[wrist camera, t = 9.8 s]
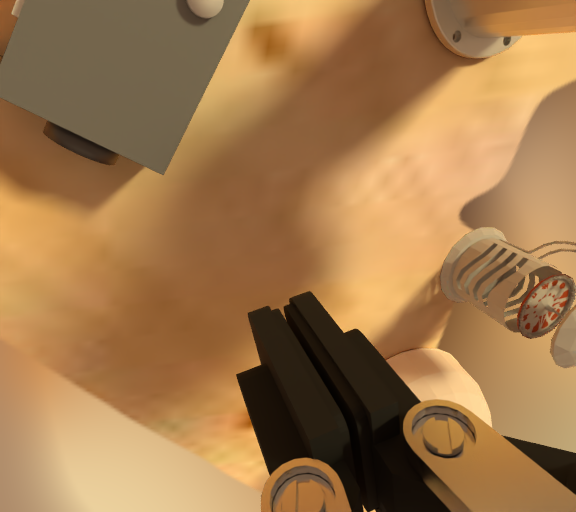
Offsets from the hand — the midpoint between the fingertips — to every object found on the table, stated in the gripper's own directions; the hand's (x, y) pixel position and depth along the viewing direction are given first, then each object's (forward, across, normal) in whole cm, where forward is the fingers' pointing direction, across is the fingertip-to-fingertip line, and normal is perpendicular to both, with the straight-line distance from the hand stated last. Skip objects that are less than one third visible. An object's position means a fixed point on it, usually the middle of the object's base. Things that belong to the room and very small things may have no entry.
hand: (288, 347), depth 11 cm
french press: (+25, -30, +20) cm, 44 cm away
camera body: (+25, +1, -9) cm, 26 cm away
